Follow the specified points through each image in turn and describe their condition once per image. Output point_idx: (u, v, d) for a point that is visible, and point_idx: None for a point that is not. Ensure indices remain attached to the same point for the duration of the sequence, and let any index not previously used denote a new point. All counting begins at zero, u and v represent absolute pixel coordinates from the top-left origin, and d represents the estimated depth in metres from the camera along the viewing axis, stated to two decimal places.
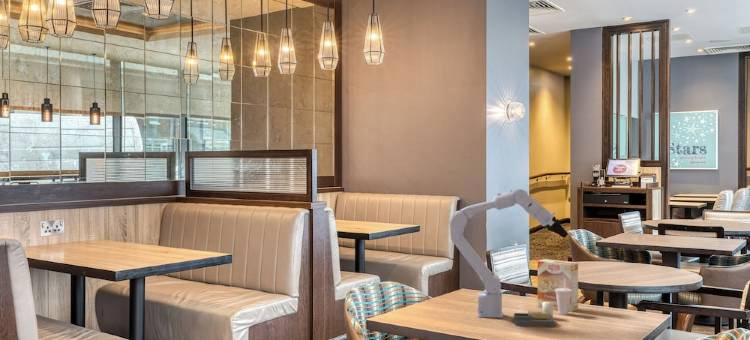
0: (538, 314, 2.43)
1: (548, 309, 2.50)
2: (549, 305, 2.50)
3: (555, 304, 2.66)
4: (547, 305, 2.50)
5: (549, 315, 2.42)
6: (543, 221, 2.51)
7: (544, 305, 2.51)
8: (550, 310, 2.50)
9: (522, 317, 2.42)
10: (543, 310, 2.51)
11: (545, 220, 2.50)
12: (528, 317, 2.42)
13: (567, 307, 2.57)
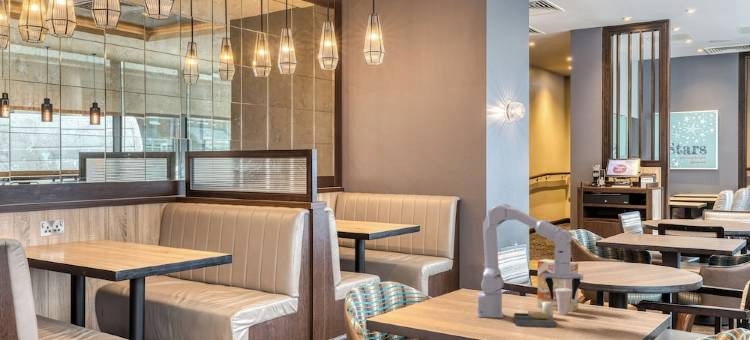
0: (538, 314, 2.43)
1: (548, 309, 2.50)
2: (549, 305, 2.50)
3: (555, 304, 2.66)
4: (547, 305, 2.50)
5: (549, 315, 2.42)
6: None
7: (544, 305, 2.51)
8: (550, 310, 2.50)
9: (522, 317, 2.42)
10: (543, 310, 2.51)
11: None
12: (528, 317, 2.42)
13: (567, 307, 2.57)
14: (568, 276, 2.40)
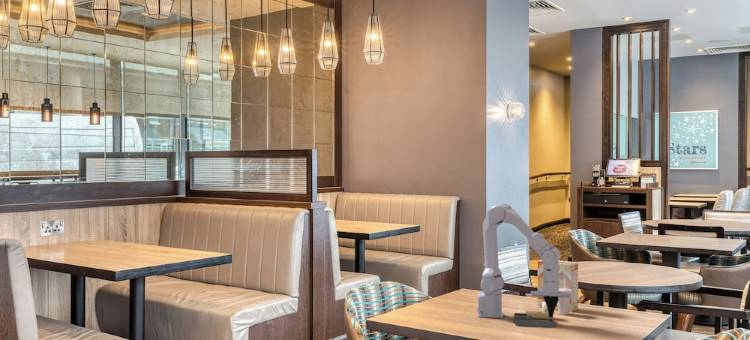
0: (536, 314, 2.43)
1: None
2: None
3: None
4: None
5: (547, 315, 2.42)
6: None
7: (544, 305, 2.51)
8: None
9: (522, 317, 2.42)
10: (543, 310, 2.51)
11: (543, 290, 2.44)
12: (528, 317, 2.42)
13: (567, 307, 2.57)
14: (556, 294, 2.40)
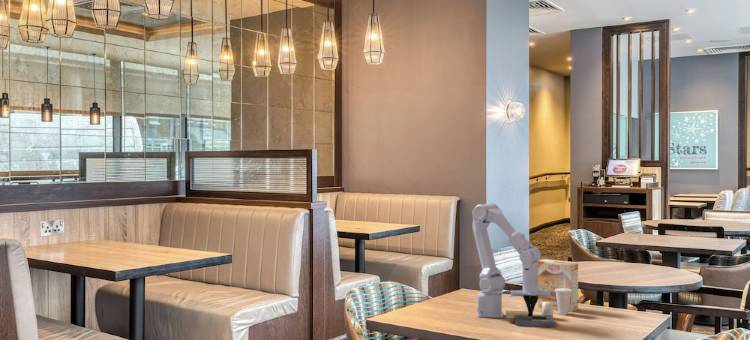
0: (516, 313, 2.44)
1: (548, 309, 2.50)
2: (549, 305, 2.50)
3: (555, 304, 2.66)
4: (547, 305, 2.50)
5: (526, 314, 2.43)
6: None
7: (544, 305, 2.51)
8: (550, 310, 2.50)
9: (522, 317, 2.42)
10: (543, 310, 2.51)
11: None
12: (528, 317, 2.42)
13: (567, 307, 2.57)
14: (535, 293, 2.42)
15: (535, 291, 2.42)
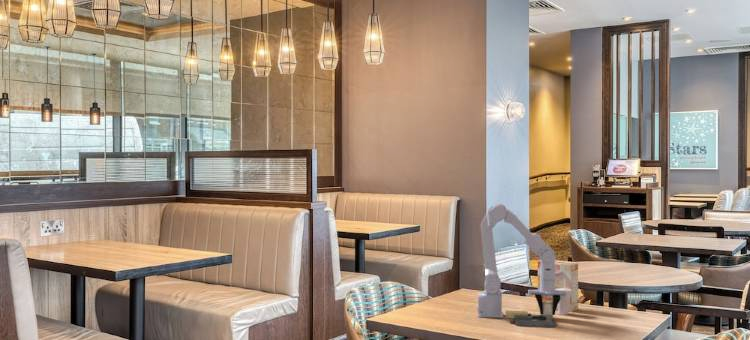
0: (515, 313, 2.44)
1: (548, 309, 2.50)
2: (549, 305, 2.50)
3: None
4: (547, 305, 2.50)
5: (526, 314, 2.43)
6: None
7: (544, 305, 2.51)
8: (550, 310, 2.50)
9: (522, 317, 2.42)
10: (543, 310, 2.51)
11: (540, 289, 2.53)
12: (528, 317, 2.42)
13: (567, 307, 2.57)
14: (553, 293, 2.49)
15: (552, 290, 2.50)
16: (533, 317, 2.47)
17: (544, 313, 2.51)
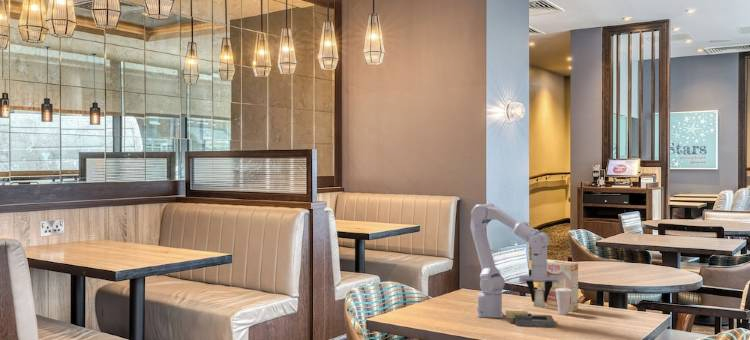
0: (515, 313, 2.44)
1: (539, 297, 2.42)
2: (541, 293, 2.42)
3: (555, 304, 2.66)
4: (538, 292, 2.42)
5: (526, 314, 2.43)
6: None
7: (535, 292, 2.43)
8: (541, 298, 2.42)
9: (522, 317, 2.42)
10: (534, 298, 2.43)
11: None
12: (528, 317, 2.42)
13: (567, 307, 2.57)
14: (544, 279, 2.41)
15: (544, 276, 2.41)
16: (533, 317, 2.47)
17: (535, 301, 2.43)
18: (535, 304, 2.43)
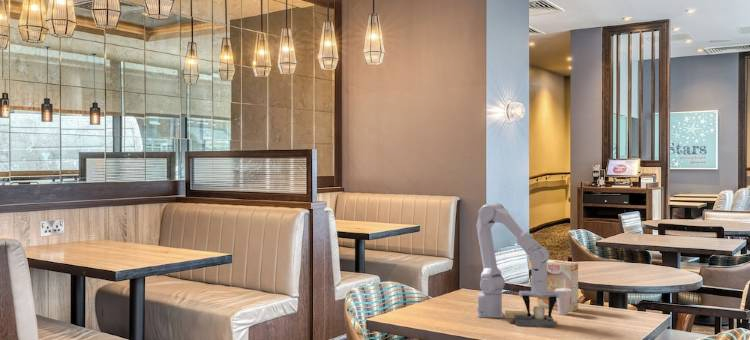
0: (515, 313, 2.44)
1: (539, 314, 2.42)
2: (541, 310, 2.42)
3: (555, 304, 2.66)
4: (538, 309, 2.42)
5: (526, 314, 2.43)
6: None
7: (535, 309, 2.43)
8: (541, 315, 2.42)
9: (522, 317, 2.42)
10: (534, 315, 2.43)
11: None
12: (528, 317, 2.42)
13: (567, 307, 2.57)
14: (544, 294, 2.41)
15: (544, 291, 2.41)
16: (533, 317, 2.47)
17: (535, 318, 2.43)
18: None
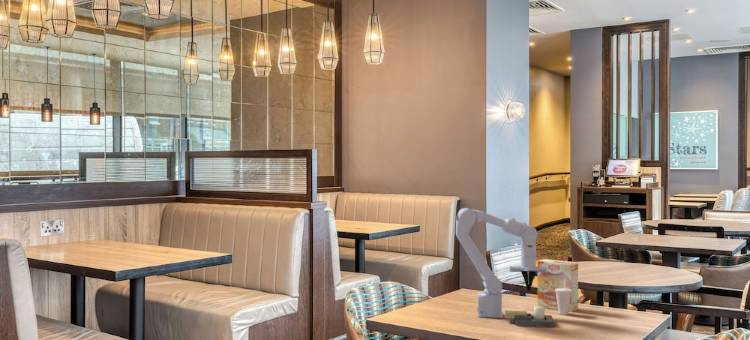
0: (515, 313, 2.44)
1: (539, 314, 2.42)
2: (541, 310, 2.42)
3: (555, 304, 2.66)
4: (538, 309, 2.42)
5: (526, 314, 2.43)
6: None
7: (535, 309, 2.43)
8: (541, 315, 2.42)
9: (522, 317, 2.42)
10: (534, 315, 2.43)
11: (521, 265, 2.57)
12: (528, 317, 2.42)
13: (567, 307, 2.57)
14: (533, 269, 2.53)
15: (533, 267, 2.54)
16: (533, 317, 2.47)
17: (535, 318, 2.43)
18: None
